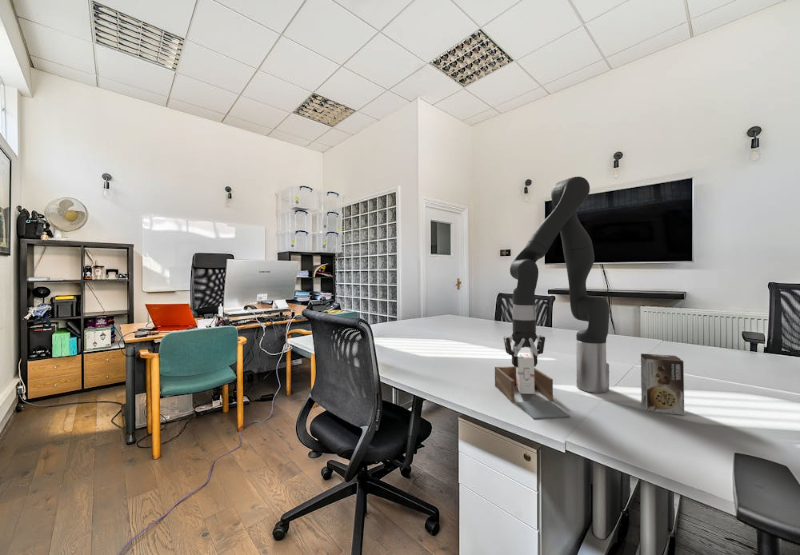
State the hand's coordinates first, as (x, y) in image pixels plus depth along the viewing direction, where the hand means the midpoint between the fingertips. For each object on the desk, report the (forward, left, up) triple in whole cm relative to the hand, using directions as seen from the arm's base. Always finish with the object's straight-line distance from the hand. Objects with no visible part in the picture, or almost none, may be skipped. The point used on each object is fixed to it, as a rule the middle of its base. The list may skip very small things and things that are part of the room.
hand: (524, 366), depth 110 cm
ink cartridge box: (0, 0, -8) cm, 8 cm away
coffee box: (-36, +15, -10) cm, 40 cm away
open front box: (0, -2, -10) cm, 10 cm away
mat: (0, +12, -10) cm, 16 cm away
